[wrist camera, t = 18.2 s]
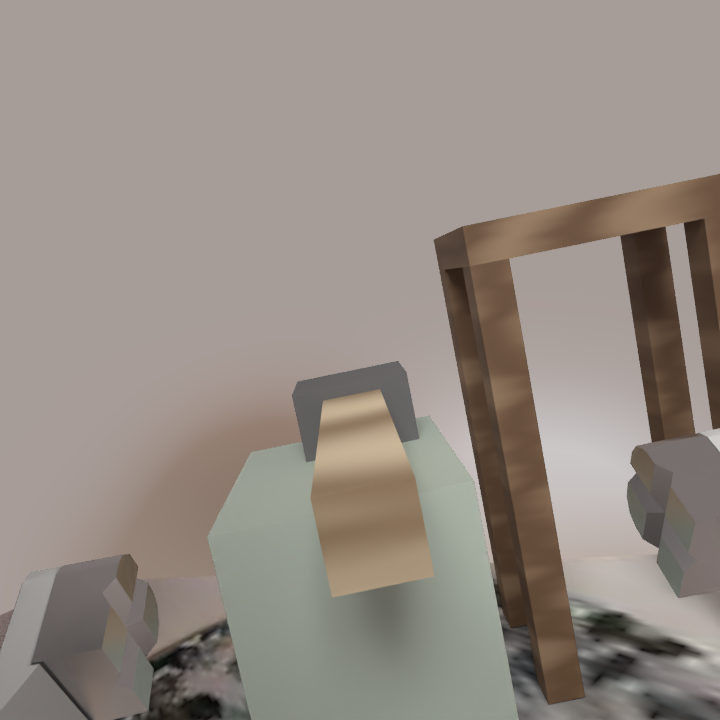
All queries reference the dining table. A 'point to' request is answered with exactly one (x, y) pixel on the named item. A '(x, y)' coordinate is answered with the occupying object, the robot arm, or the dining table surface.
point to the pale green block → (360, 603)
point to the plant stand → (513, 387)
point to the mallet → (364, 477)
